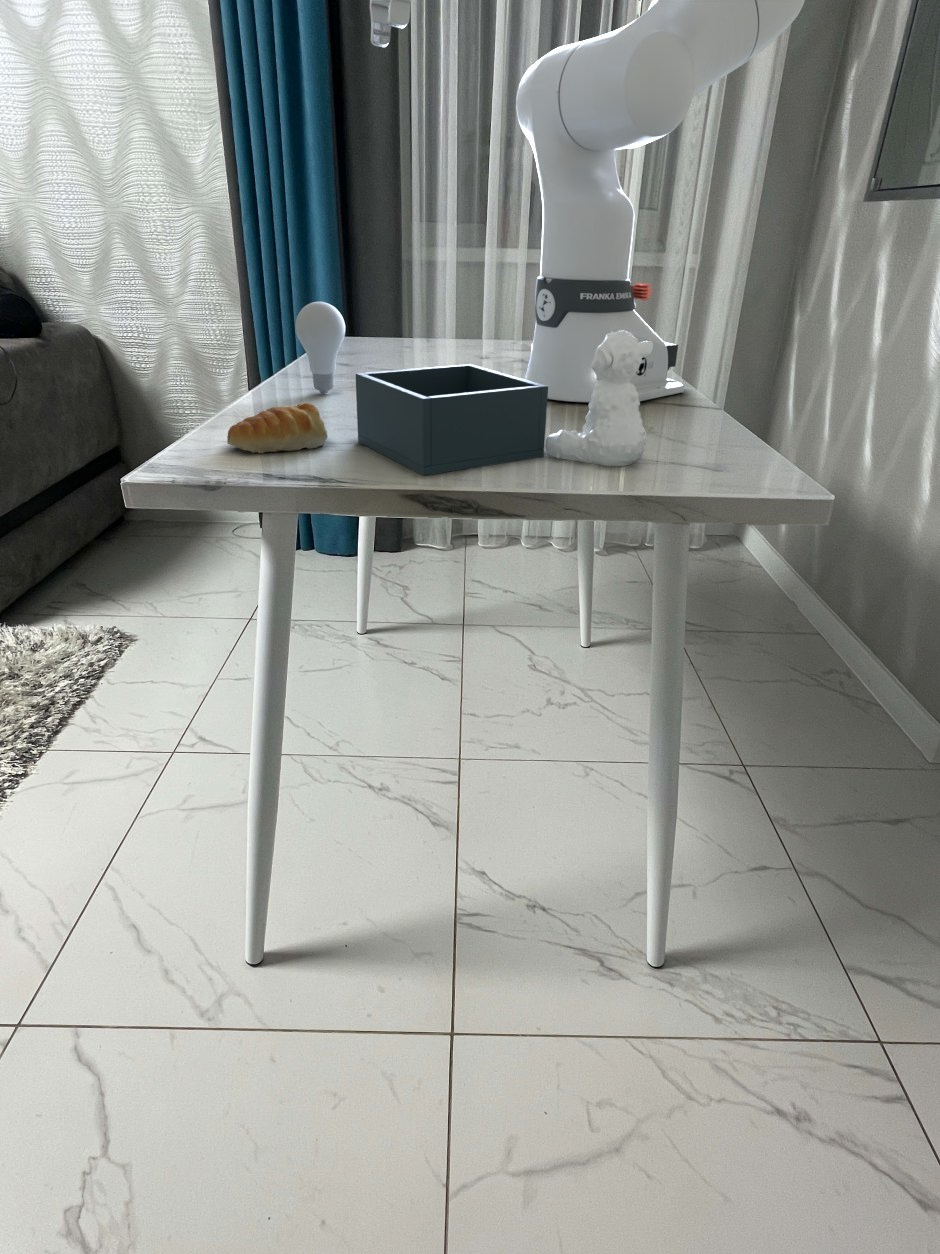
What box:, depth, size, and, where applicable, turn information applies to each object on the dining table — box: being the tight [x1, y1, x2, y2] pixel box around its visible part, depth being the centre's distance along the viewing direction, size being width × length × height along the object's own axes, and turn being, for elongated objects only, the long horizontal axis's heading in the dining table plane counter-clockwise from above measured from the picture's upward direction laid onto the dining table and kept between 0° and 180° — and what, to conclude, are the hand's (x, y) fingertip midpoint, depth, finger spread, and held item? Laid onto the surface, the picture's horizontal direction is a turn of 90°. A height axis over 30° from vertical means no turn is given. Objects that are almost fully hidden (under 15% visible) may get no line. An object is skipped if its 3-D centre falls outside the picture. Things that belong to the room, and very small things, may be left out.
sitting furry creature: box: [544, 330, 653, 467], centre depth 77 cm, size 10×9×12 cm
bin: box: [354, 363, 549, 476], centre depth 80 cm, size 14×14×7 cm
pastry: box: [226, 402, 328, 454], centre depth 80 cm, size 9×7×4 cm
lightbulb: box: [294, 301, 346, 394], centre depth 102 cm, size 6×6×11 cm
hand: (388, 36), depth 80 cm, fingers open, 8 cm apart
